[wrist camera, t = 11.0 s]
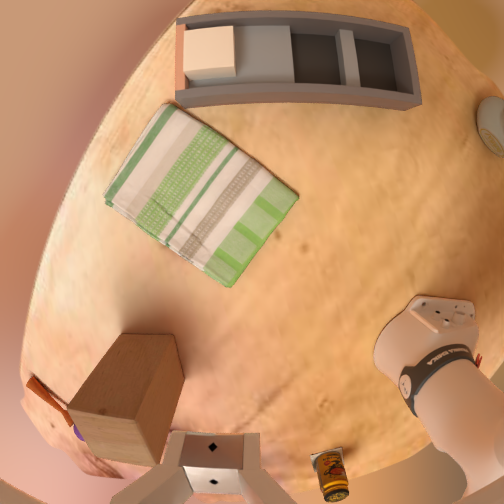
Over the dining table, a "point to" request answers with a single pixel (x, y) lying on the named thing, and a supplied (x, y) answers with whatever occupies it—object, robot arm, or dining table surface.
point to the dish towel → (198, 194)
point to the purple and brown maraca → (52, 403)
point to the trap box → (305, 61)
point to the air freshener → (492, 124)
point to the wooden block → (130, 399)
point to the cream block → (209, 53)
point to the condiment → (331, 474)
